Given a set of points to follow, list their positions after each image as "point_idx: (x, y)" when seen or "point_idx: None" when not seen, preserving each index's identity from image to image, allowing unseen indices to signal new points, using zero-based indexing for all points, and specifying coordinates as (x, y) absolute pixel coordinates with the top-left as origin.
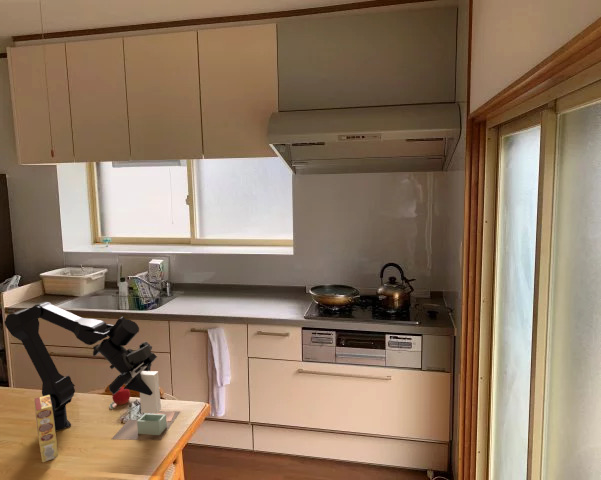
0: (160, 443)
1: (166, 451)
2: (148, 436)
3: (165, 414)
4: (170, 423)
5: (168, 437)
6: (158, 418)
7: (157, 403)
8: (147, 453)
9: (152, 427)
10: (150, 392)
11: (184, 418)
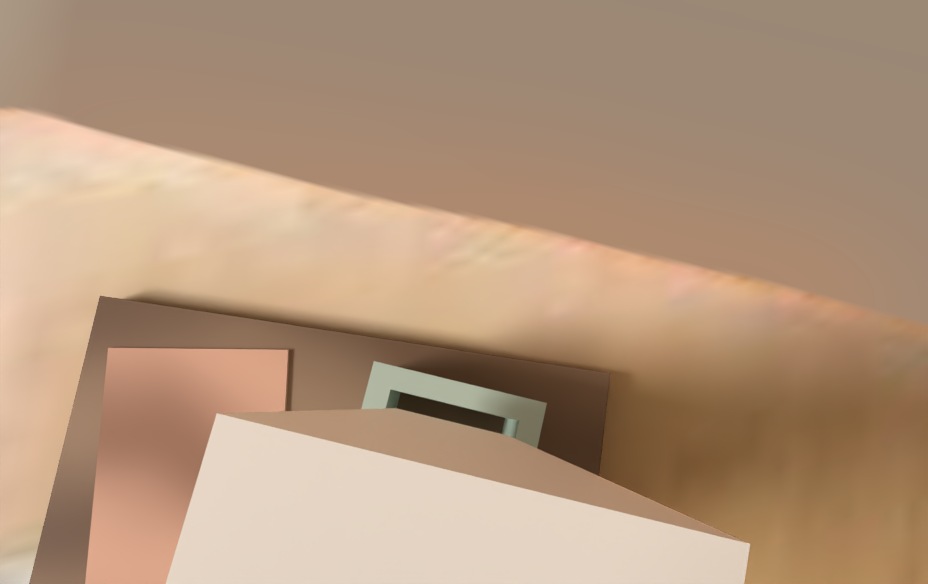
0: None
1: (723, 300)
2: None
3: (140, 438)
4: (326, 348)
5: (514, 330)
6: None
7: (478, 431)
8: (744, 454)
9: None
10: None
11: (201, 251)
